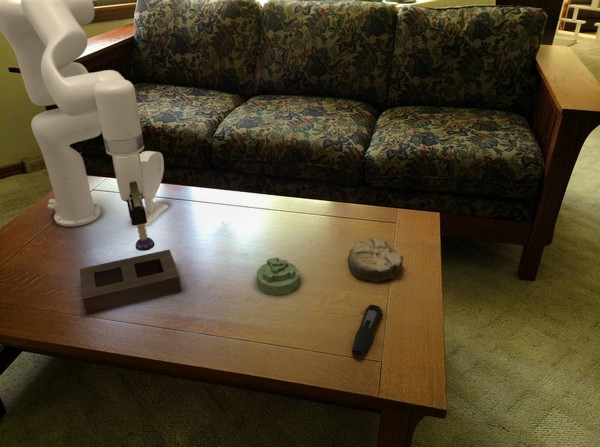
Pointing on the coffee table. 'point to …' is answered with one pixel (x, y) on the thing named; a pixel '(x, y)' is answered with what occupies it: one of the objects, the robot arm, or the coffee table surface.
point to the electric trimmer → (366, 330)
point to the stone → (374, 260)
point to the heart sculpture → (152, 182)
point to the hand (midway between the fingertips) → (138, 219)
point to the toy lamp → (143, 236)
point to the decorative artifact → (277, 277)
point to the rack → (129, 281)
